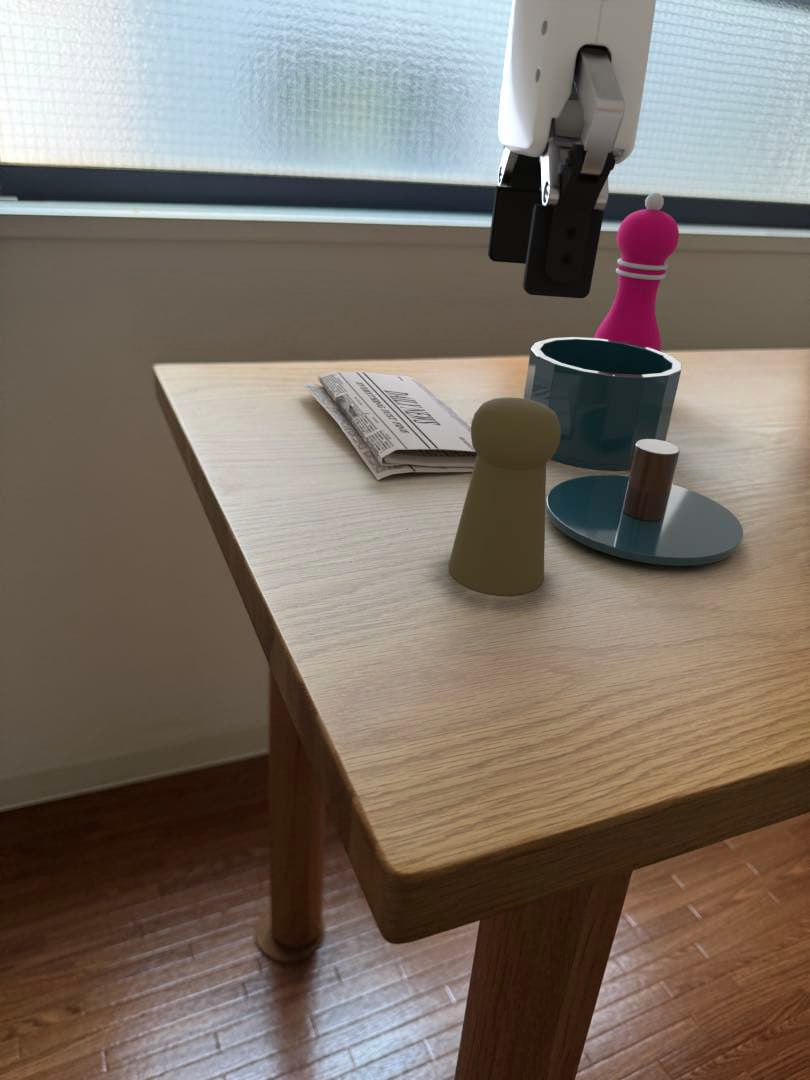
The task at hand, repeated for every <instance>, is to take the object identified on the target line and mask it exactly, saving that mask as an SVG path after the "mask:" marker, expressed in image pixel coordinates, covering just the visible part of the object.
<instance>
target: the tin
mask: <svg viewBox="0 0 810 1080" xmlns="http://www.w3.org/2000/svg"><path fill="white" fill-rule="evenodd" d="M682 366H683V363H681V362H680V361H678V360H677V359H676V358H674V357H673V356H672V355H670V354H667V353H665V352H662V351H661V352H660V351H657V350H654V349H652V348H648V347H644V346H639V345H635V344H631V343H626V342H620V341H613V340H606V339H599V338H594V337H582V336H581V337H580V336H568V337H551V338H547V339H543V340H540V341H536V342H535V343H534V344H532V346H531V348H530V352H529V358H528V366H527V373H526V380H525V387H524V394H523V399H528V400H533V401H536V402H540V403H542V404H544V405H546V406H548V407H549V408H550V409H551V410H553V411H554V412H555V413H556V416H557V418H558V420H559V423H560V428H561V437H560V442H559V445H558V447H557V450H556V452H555V454H554V455H553V457H552V458H551V459H550V460H553V461H556V462H559V463H561V464H565V465H570V466H574V467H578V468H584V469H592V470H600V471H630V467H631V462H632V457H633V452H634V448H635V443H636V442H637V441H638V440H642V439H656V440H662V441H666V440H667V436H668V431H669V428H670V427H669V426H670V422H671V418H672V413H673V409H674V405H675V400H676V396H677V391H678V387H679V382H680V378H681V374H682Z"/></svg>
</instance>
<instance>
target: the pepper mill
mask: <svg viewBox="0 0 810 1080" xmlns="http://www.w3.org/2000/svg"><path fill="white" fill-rule="evenodd" d="M644 206H645V209H644V208H643V209H639V210H636V211H633V212H632V213H629V214H628V215H627V216H626V217H625V218H624V219H623V220H622V221H621V223H620V225H619V227H618V229H617V234H616V246H617V247H618V249H619V251H620V253H621V257H620V258H618V259H617V268H616V269H615V273H616V274H618V282H617V290H616V294H615V297H614V301H613V303H612V305H611V308H610V309H609V311H608V313H607V315H606V316H605V317H604V319H603V321H602V322H601V324H600V325H599V326H598V328H597V330H596V332H595V334H594V336H593V338H599V339H606V340H613V341H620V342H626V343H631V344H635V345H639V346H644V347H648V348H652V349H654V350H657V351H660V352H662V340H661V339H662V338H661V334H660V330H659V325H658V321H657V314H656V301H657V294H658V289H659V286H660V283H661V280H664V279H665V278H666V277H667V274H666V270H667V269H668V268H669V266H668V264H667V263H666V260H667V259H668V258H669V257H670V256H671V255H673V253H674V252H675V250H676V249H677V246H678V245H679V244H678V243H679V238H680V232H679V231H680V230H679V226H678V223H677V222H676V220H675V219H674V218H673V216H671V215H670V214H668V213H666V212H664V211H662V210H661V209H662V208H663V206H664V196H663V195H662V194H660V193H659V192H651V193H650V194H648V196H646V198H645V200H644Z"/></svg>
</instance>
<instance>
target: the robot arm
mask: <svg viewBox="0 0 810 1080" xmlns="http://www.w3.org/2000/svg"><path fill="white" fill-rule="evenodd" d="M656 3H657V0H512V4H511V10H510V17H509V25H508V33H507V40H506V47H505V56H504V62H503V64H504V65H503V71H502V81H501V90H500V99H499V109H498V110H499V113H498V125H497V126H498V127H497V128H498V130H497V135H498V140H499V142H500V143H501V144H502V146H503V154H502V157H501V161H500V165H499V168H498V175H497V185H495V191H494V200H493V206H492V207H493V208H492V214H491V215H492V216H491V221H490V222H491V223H490V232H489V240H488V246H487V247H488V248H487V257H488V258H489V259H490V260H491V261H492V262H495V263H509V264H521V265H522V264H523V265H524V272H523V281H522V288H523V291H525V292H526V293H527V294H528V295H531V296H540V297H553V298H554V297H555V298H570V299H584V298H586V297H588V296H589V294H590V291H591V287H592V283H593V282H592V281H593V276H594V271H595V265H596V258H597V254H598V248H599V242H600V236H601V230H602V225H603V219H604V214H605V210H606V207H607V203H608V200H609V193H610V192H609V175H610V173H611V171H613V170H614V168H615V166H616V165H620V164H621V163H622V162H624V161H625V160H627V159H628V158H629V156H631V154H632V153H633V151H634V149H635V145H636V140H637V135H638V128H639V123H640V118H641V117H640V116H641V109H642V102H643V96H644V90H645V83H646V76H647V69H648V64H649V63H648V62H649V55H650V49H651V41H652V33H653V27H654V19H655V14H656V13H655V11H656ZM561 164H563V166H562V167H563V168H562V170H561Z"/></svg>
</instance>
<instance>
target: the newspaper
mask: <svg viewBox="0 0 810 1080" xmlns="http://www.w3.org/2000/svg"><path fill="white" fill-rule="evenodd" d="M317 377H318V378H317V379H318V382H319V383H320V384H321V385H319V384H316V383H311V382H303V383H301V384H302V386H303V387H304V388H305V389H306V390H307V391H308V392H309V394H311V396H312V397H313V398H314V400H316V401H317V402H318V403H319V404H320V405H321V406H322V408H323V409H324V410H325V411H326V412H327V413H328V414H329V415H330V416H331V417H332V419H334V421H335V422H336V423H337V425H338V426H339V427H340V429H341V430H342V432H343V433H344V435H345V436H346V437H347V439H348V440H349V442H350V443H351V445H352V446H353V447H354V448H355V451H356V452H357V453H358V454H359V456H360V458H361V459H362V460H363V462H364V463H365V465H366V466H367V467H368V469H369V470H370V472H371V473H372V475H373V476H374V477H375V479H376V480H377V481H380V480H381V479H384V478H387V477H389V476H392V475H398V474H407V473H473V469H474V465H475V461H476V457H477V453H476V451H475V449H474V448H473V446H472V439H471V426H470V425H469V424H468V423H467V422H466V421H465V420H464V419H463V418H461V417H460V416H459V415H458V414H457V413H455V412H454V411H453V409H451V408H450V407H449V406H448V405H447V404H445V403H444V402H443V401H442V400H441V399H440V398H438V397H437V396H436V395H435V394H434V393H433V392H431V390H429V389H428V388H427V387H426V385H423V383H421V382H420V381H419V380H418V379H416V378H413V377H411V376H409V375H408V376H407V375H397V374H387V373H379V372H368V371H328V372H325V373H322V374H319V375H317Z"/></svg>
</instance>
